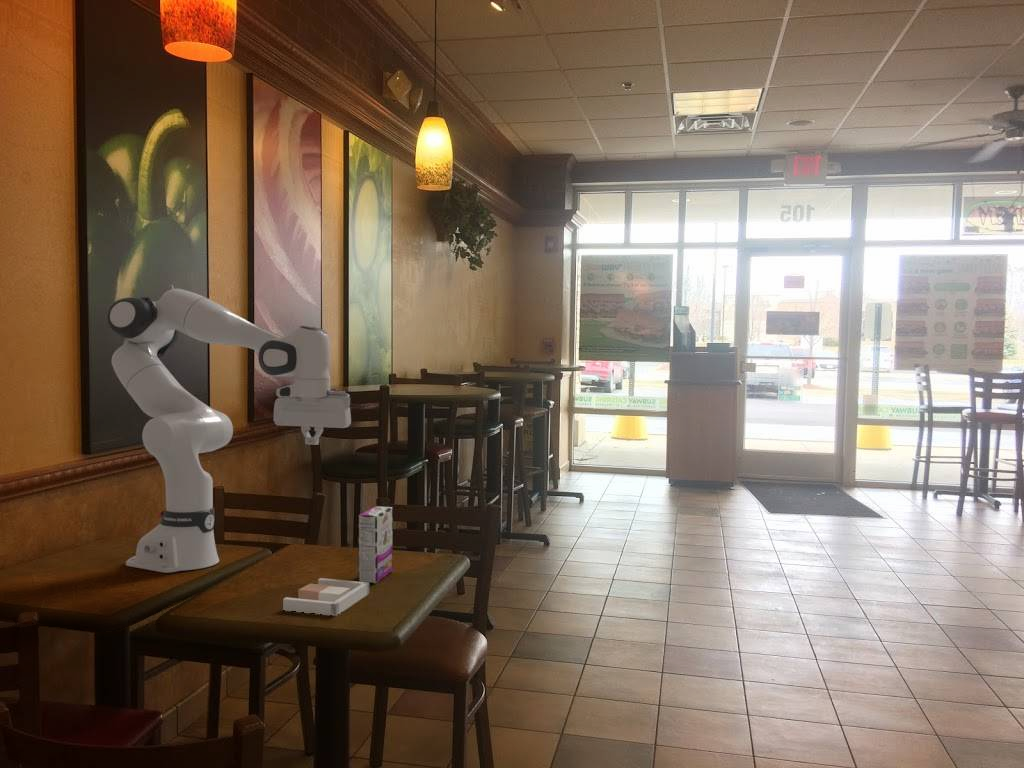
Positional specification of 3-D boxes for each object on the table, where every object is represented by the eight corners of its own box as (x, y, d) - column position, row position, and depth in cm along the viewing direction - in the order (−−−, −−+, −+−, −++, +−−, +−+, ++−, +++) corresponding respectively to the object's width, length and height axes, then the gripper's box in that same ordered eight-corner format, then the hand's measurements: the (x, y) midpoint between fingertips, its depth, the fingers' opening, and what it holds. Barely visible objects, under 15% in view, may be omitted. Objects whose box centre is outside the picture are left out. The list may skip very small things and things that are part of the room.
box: (283, 610, 168) (283, 598, 168) (320, 588, 184) (320, 578, 184) (336, 616, 165) (336, 604, 165) (369, 593, 181) (369, 582, 181)
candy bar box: (374, 570, 200) (374, 505, 200) (393, 571, 199) (393, 506, 199) (357, 582, 189) (357, 514, 189) (376, 584, 188) (377, 515, 188)
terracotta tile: (298, 603, 174) (298, 589, 174) (309, 596, 179) (309, 583, 178) (318, 605, 172) (319, 591, 172) (329, 598, 177) (330, 585, 177)
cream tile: (318, 606, 172) (318, 592, 172) (329, 599, 177) (329, 586, 177) (339, 608, 171) (339, 594, 171) (349, 601, 176) (350, 588, 176)
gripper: (355, 390, 203) (355, 444, 203) (283, 388, 208) (283, 441, 208) (344, 391, 197) (344, 447, 197) (270, 389, 202) (270, 444, 202)
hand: (312, 444), depth 203 cm, fingers closed
